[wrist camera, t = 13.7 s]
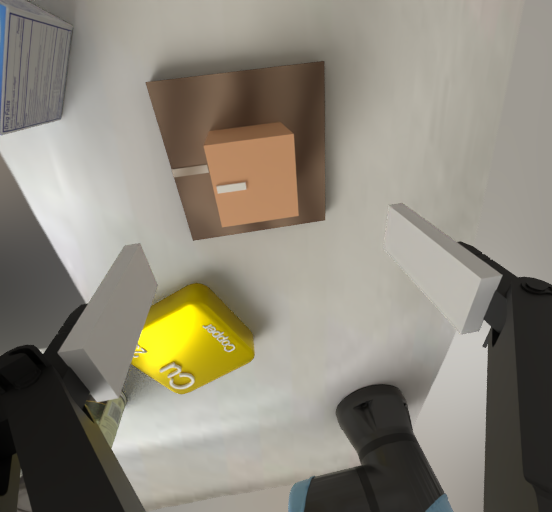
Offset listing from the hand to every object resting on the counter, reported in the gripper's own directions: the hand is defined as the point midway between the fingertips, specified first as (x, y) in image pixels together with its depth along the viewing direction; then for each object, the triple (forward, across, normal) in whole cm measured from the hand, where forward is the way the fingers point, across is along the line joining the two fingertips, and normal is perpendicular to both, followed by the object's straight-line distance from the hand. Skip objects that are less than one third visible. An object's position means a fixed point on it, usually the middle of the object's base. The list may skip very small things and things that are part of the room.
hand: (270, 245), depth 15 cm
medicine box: (+19, +16, -10) cm, 27 cm away
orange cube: (+17, 0, 0) cm, 17 cm away
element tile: (+19, +13, +24) cm, 34 cm away
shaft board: (+19, 0, 0) cm, 19 cm away
